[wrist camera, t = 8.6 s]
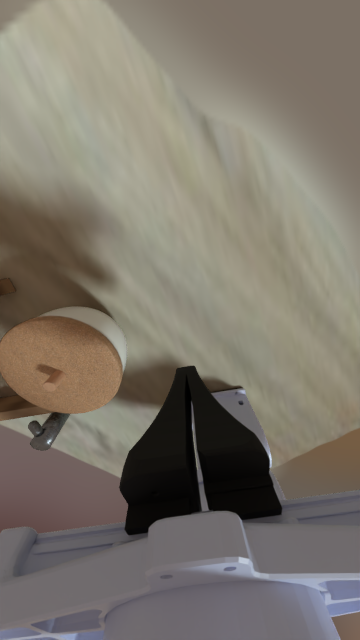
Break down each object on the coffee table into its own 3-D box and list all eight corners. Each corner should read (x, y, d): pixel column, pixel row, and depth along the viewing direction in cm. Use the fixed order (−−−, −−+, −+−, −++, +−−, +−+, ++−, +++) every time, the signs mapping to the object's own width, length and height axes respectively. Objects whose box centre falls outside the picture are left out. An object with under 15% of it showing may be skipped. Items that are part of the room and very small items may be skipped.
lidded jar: (72, 371, 25) (20, 437, 17) (37, 302, 21) (-58, 341, 12) (144, 360, 25) (129, 421, 16) (123, 287, 21) (87, 317, 12)
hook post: (65, 388, 26) (36, 426, 21) (77, 409, 28) (53, 449, 22) (49, 391, 26) (17, 429, 21) (62, 411, 28) (36, 451, 23)
